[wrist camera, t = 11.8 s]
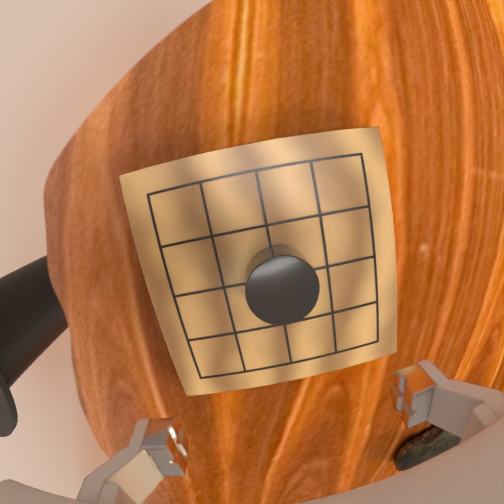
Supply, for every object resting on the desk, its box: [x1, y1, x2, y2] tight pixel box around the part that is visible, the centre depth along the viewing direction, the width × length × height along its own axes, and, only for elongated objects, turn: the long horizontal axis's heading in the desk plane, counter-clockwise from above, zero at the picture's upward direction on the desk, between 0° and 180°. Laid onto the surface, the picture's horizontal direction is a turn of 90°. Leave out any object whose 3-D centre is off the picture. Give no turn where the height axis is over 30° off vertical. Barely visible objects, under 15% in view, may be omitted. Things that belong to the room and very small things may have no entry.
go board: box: [119, 127, 397, 396], centre depth 23 cm, size 20×20×2 cm
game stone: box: [245, 245, 320, 325], centre depth 21 cm, size 5×5×3 cm
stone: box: [394, 426, 461, 471], centre depth 29 cm, size 18×11×3 cm, turn 92°
